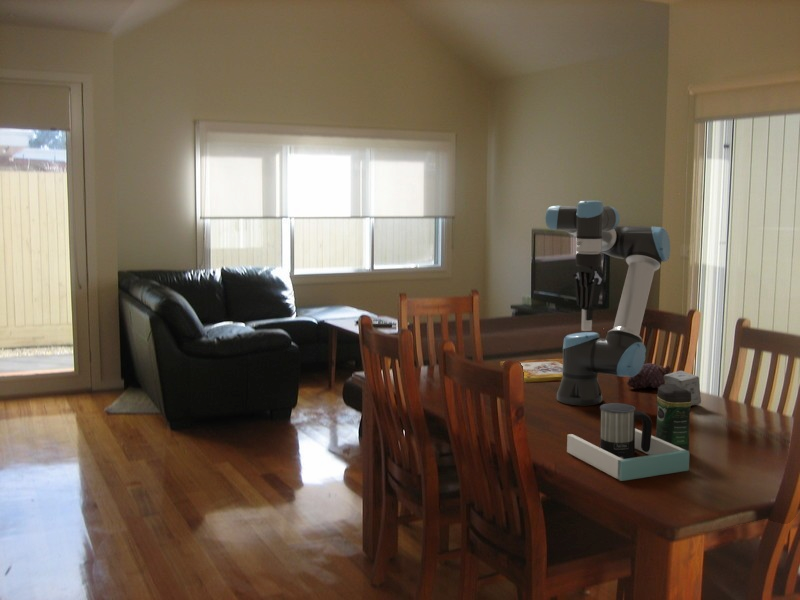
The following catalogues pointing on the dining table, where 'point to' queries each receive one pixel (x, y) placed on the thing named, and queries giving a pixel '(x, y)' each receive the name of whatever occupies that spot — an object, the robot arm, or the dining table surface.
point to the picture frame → (542, 370)
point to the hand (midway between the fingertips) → (586, 330)
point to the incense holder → (686, 384)
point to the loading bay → (656, 463)
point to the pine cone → (649, 376)
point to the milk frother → (623, 429)
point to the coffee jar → (673, 415)
